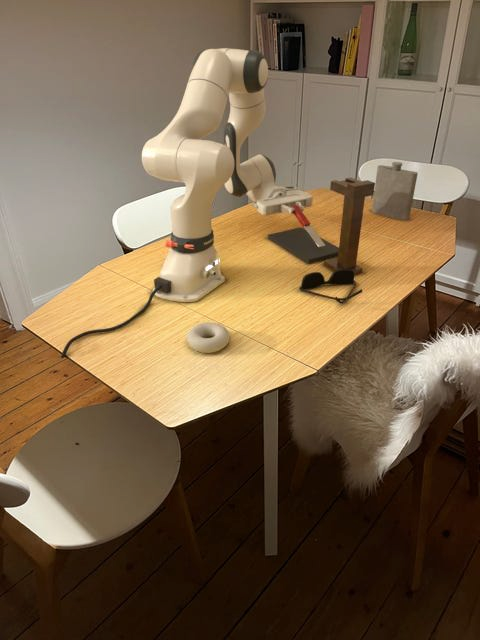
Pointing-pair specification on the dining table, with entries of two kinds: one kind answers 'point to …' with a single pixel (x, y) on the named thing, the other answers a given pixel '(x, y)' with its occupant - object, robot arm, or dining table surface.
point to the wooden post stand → (350, 222)
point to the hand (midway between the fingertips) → (297, 210)
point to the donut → (208, 344)
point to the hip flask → (394, 191)
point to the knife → (307, 226)
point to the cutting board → (303, 245)
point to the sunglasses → (329, 282)
